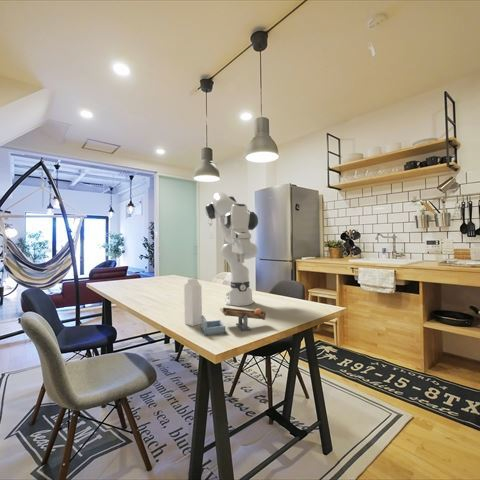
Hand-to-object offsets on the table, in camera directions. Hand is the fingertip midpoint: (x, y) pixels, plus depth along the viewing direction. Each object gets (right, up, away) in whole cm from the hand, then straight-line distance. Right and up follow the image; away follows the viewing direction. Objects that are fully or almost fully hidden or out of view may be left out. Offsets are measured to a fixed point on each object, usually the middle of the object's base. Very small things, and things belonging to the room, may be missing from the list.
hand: (240, 262), depth 139 cm
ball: (+8, -23, -10) cm, 26 cm away
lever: (0, -25, -10) cm, 27 cm away
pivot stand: (+1, -29, -12) cm, 32 cm away
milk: (-23, -30, -5) cm, 38 cm away
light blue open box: (-12, -29, -17) cm, 36 cm away
